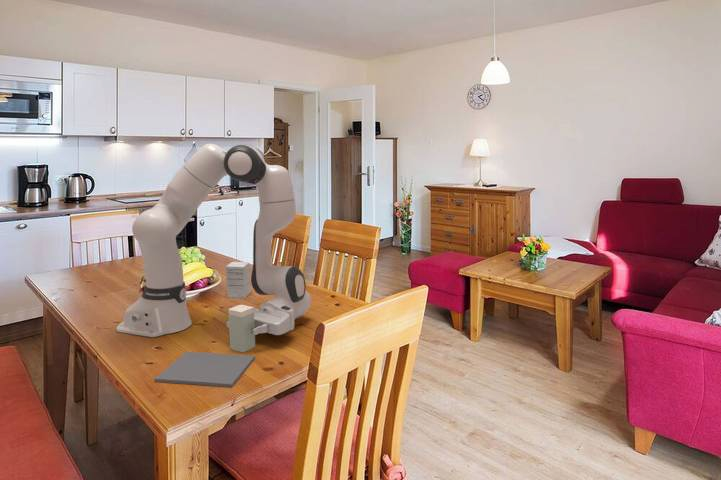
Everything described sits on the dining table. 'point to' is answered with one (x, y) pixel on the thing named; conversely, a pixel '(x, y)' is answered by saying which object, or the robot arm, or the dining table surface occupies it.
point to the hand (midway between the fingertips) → (240, 328)
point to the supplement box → (238, 279)
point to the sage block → (241, 328)
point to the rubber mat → (206, 369)
